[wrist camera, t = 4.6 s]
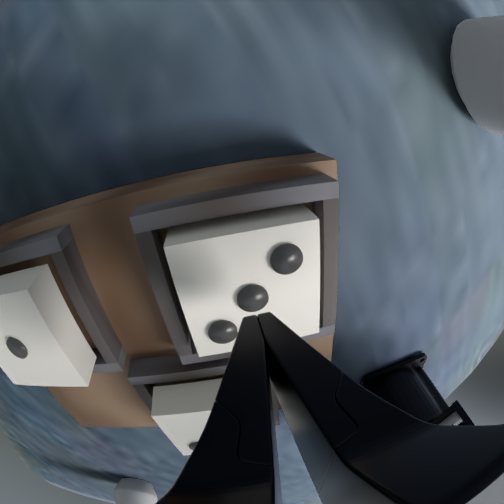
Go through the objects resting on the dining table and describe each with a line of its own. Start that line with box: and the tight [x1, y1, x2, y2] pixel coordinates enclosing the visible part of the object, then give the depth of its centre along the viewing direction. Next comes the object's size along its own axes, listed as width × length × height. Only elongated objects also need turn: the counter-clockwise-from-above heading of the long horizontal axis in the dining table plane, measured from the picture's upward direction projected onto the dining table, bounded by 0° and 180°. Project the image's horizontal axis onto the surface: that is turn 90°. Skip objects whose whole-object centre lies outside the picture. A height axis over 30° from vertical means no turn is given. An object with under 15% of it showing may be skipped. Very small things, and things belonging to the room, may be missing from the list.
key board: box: [0, 152, 339, 427], centre depth 13 cm, size 18×15×3 cm
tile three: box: [163, 203, 320, 357], centre depth 11 cm, size 5×5×2 cm
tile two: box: [151, 378, 222, 455], centre depth 13 cm, size 5×5×2 cm
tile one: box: [0, 264, 97, 387], centre depth 9 cm, size 5×5×2 cm
